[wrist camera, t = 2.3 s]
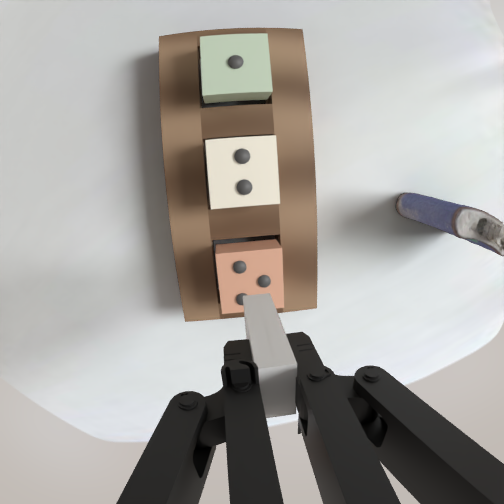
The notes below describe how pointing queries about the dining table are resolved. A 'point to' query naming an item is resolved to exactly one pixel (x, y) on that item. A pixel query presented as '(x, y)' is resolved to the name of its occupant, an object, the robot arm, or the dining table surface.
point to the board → (195, 172)
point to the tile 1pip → (235, 67)
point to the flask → (454, 220)
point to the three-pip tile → (249, 272)
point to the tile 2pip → (242, 171)
